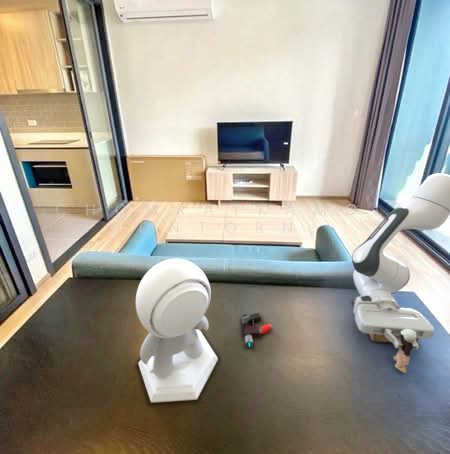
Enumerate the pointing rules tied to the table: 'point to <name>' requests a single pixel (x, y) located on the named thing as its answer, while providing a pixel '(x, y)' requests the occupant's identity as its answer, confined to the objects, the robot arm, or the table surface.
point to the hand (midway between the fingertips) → (407, 347)
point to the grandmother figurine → (404, 349)
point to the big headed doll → (174, 331)
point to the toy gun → (253, 328)
